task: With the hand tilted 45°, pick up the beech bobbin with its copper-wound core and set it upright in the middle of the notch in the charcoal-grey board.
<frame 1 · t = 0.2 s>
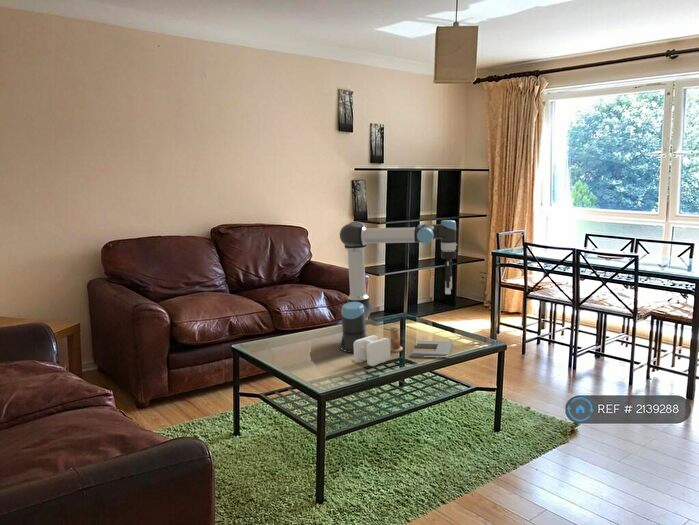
hand: (448, 291, 297), 28 cm above the table, tool pointing down, fingers open, 13 cm apart
notched board: (432, 351, 290), on the table
bobbin: (395, 350, 295), on the table
cable organizer: (372, 362, 279), on the table
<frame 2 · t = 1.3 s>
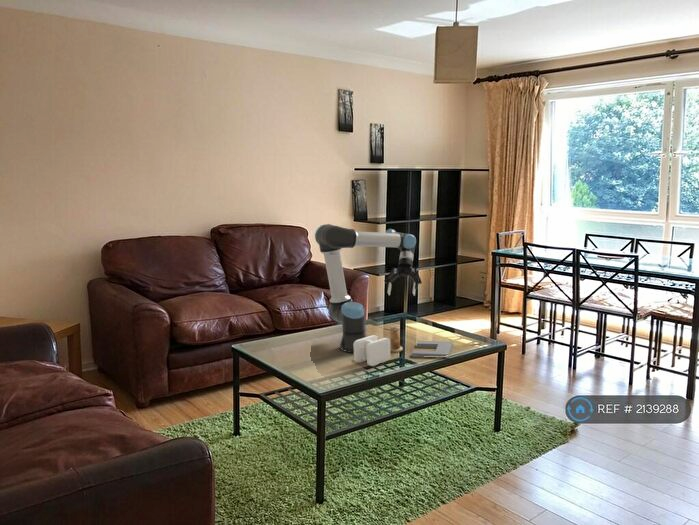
hand: (401, 294, 306), 26 cm above the table, tool tilted 45°, fingers open, 13 cm apart
nothing on the table moved.
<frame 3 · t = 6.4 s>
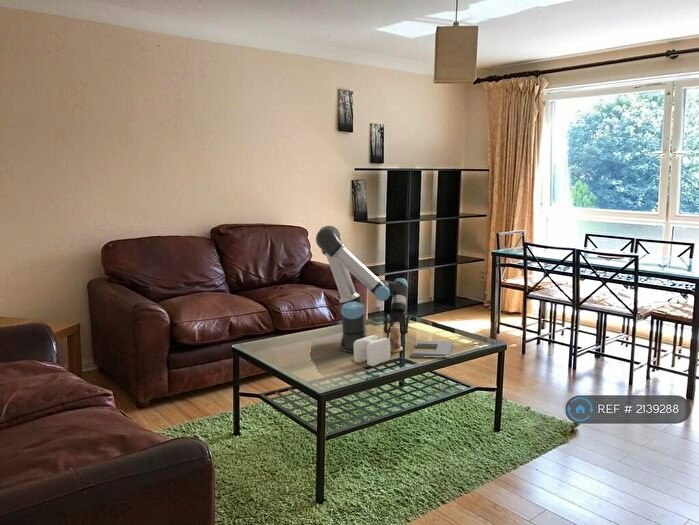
hand: (394, 345, 291), 4 cm above the table, tool tilted 45°, fingers closed on bobbin, 4 cm apart
bobbin: (395, 350, 295), on the table, touching gripper
everything else where it was.
when the fingers open (4 cm above the table, at t = 11.3 s): bobbin stays where it is, on the table.
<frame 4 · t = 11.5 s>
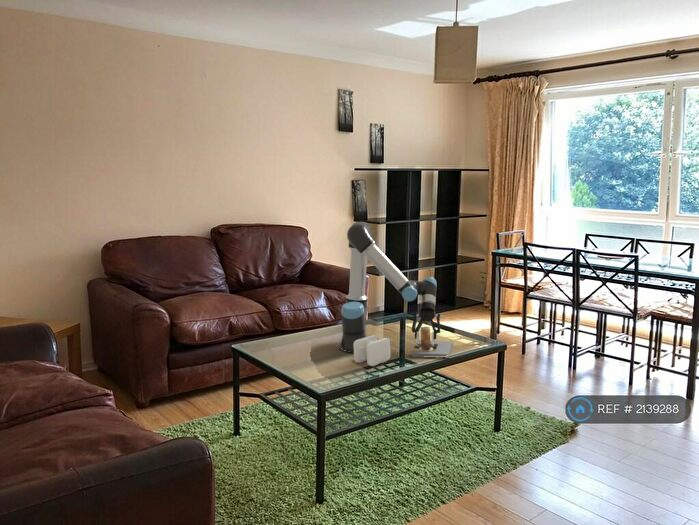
hand: (424, 344, 287), 4 cm above the table, tool tilted 45°, fingers open, 7 cm apart
bobbin: (426, 350, 291), on the table
everything else where it was.
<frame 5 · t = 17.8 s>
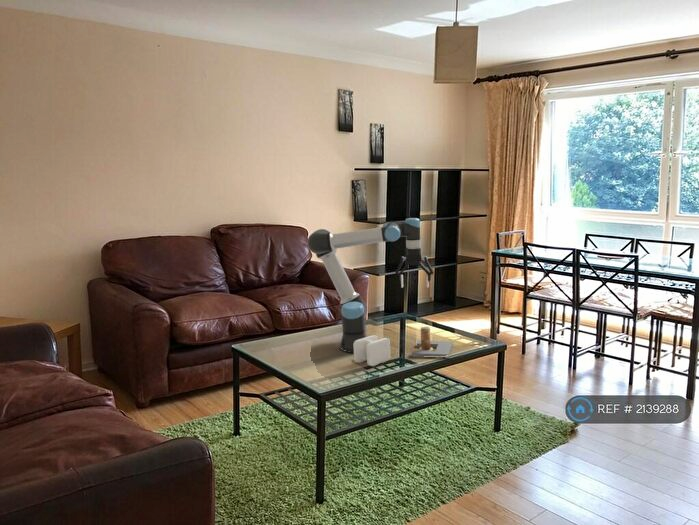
hand: (414, 287, 306), 29 cm above the table, tool pointing down, fingers open, 13 cm apart
nothing on the table moved.
at the end: bobbin inside the target area on the notched board (0.1 cm from its centre), point 0.0 cm above the notched board's base; bobbin tilted 0°; the gripper is holding nothing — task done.
